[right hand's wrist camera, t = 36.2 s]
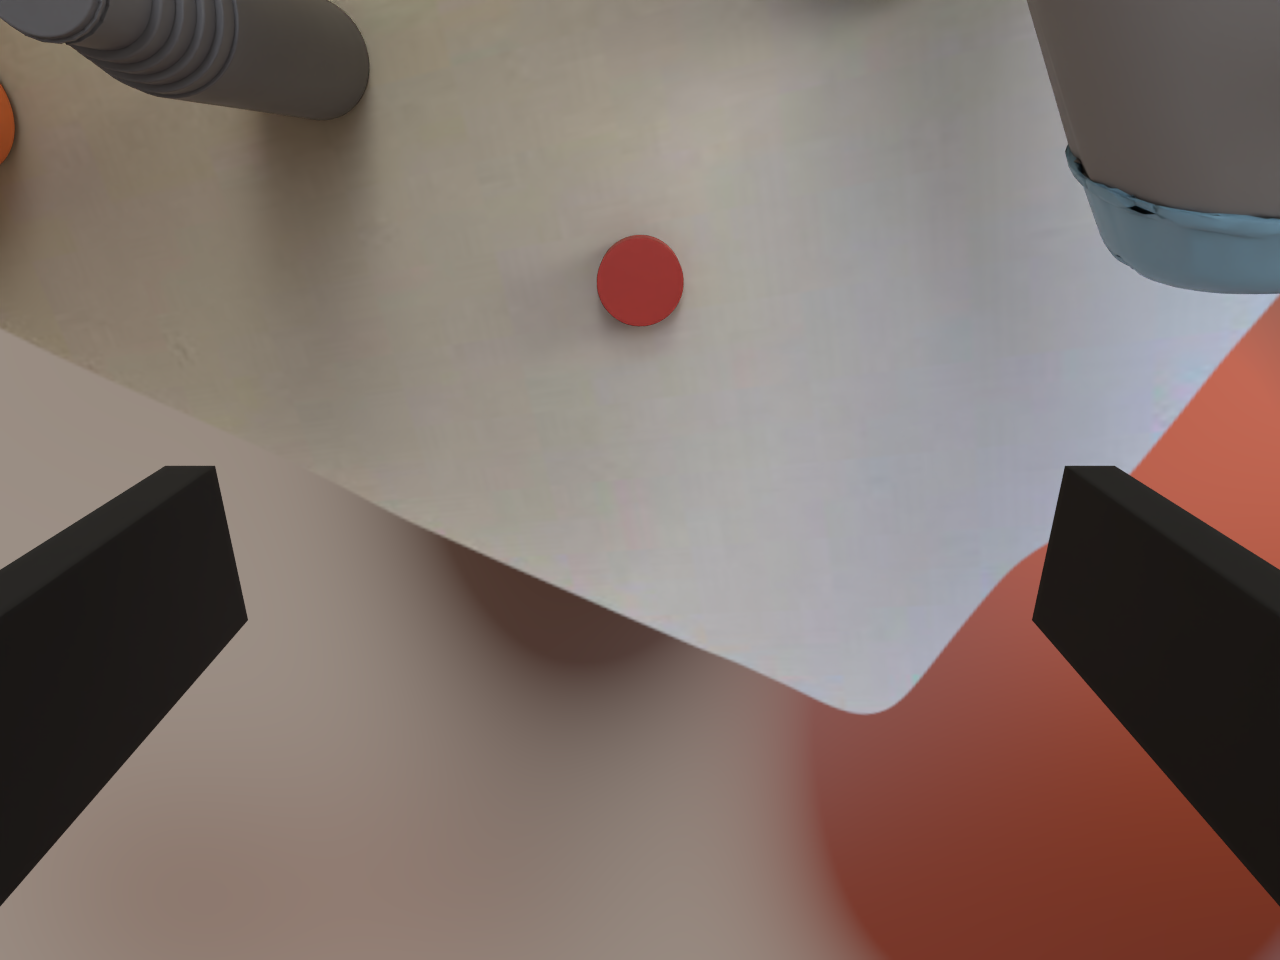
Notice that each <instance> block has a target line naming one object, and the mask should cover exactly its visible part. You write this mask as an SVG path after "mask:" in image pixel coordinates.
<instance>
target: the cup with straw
mask: <svg viewBox="0 0 1280 960" xmlns="http://www.w3.org/2000/svg"><path fill="white" fill-rule="evenodd" d="M14 132H15V125H14V117H13V112H12V108H11V105H10V102H9V99H8V97H7V95H6V93H5V91H4V89H3V87H2V86H1V84H0V164H1V163H2V162H3V161H4V160H5V159H6V157H7V156H8V154H9V152H10V150H11V147H12V144H13V140H14Z"/></svg>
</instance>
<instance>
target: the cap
mask: <svg viewBox="0 0 1280 960" xmlns="http://www.w3.org/2000/svg"><path fill="white" fill-rule="evenodd" d="M597 289H598V294H599V297H600V300H601V302H602V304H603V305H604V307H605V309H606V310H607V311H608V312H609V313H610V314H611V315H612V316H613V317H614V318H616V319H617V320H619V321H621V322H623V323H625V324H628V325H632V326H648V325H652V324H655V323H657V322H660V321H661V320H663V319H665V318H666V317H667V316H668V315H670V313H671V312H672V311H673V310H674V309H675V307H676V306H677V304H678V302H679V300H680V298H681V295H682V291H683V273H682V269H681V266H680V264H679V261H678V259H677V257H676V255H675V253H674V252H673V251H672V250H671V248H670V247H669V246H668V245H666V244H665V243H664V242H662V241H661V240H659V239H657V238H654V237H651V236H647V235H634V236H629V237H626V238H624V239H621V240H620V241H618V242H616V243H615V244H614V245H613V246H612V247H611V248H610V249H609V250H608V251H607V253H606V254H605V256H604V257H603V259H602V262H601V264H600V267H599V270H598V274H597Z"/></svg>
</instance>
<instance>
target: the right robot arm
mask: <svg viewBox="0 0 1280 960" xmlns="http://www.w3.org/2000/svg"><path fill="white" fill-rule="evenodd" d="M1027 2H1028V6H1029V9H1030V13H1031V16H1032V20H1033V23H1034V27H1035V30H1036V33H1037V37H1038V40H1039V44H1040V47H1041V51H1042V54H1043V58H1044V61H1045V65H1046V68H1047V71H1048V75H1049V78H1050V82H1051V85H1052V89H1053V92H1054V96H1055V99H1056V103H1057V106H1058V109H1059V113H1060V116H1061V120H1062V123H1063V127H1064V130H1065V134H1066V137H1067V141H1068V146H1067V148H1066V151H1065V152H1066V157H1067V161H1068V165H1069V168H1070V170H1071V172H1072V174H1073V175H1074V177H1075V178H1076V179H1077V180H1078V181H1079V182H1080V183H1081V184H1082V185H1083V187H1084V189H1085V192H1086V195H1087V198H1088V201H1089V204H1090V206H1091V209H1092V212H1093V215H1094V218H1095V221H1096V224H1097V226H1098V229H1099V232H1100V235H1101V237H1102V240H1103V242H1104V244H1105V245H1106V247H1107V248H1108V249H1109V251H1110V252H1111V253H1112V255H1113V256H1114V257H1115V258H1116V259H1117V260H1119V261H1121V262H1122V263H1124V264H1126V265H1128V266H1130V267H1131V268H1132V269H1134V270H1136V271H1137V272H1138V273H1139V274H1140V275H1142V276H1144V277H1146V278H1148V279H1150V280H1153V281H1156V282H1159V283H1163V284H1166V285H1170V286H1173V287H1178V288H1183V289H1188V290H1195V291H1203V292H1211V293H1225V294H1277V293H1280V0H1027ZM247 620H248V618H247V614H246V609H245V604H244V599H243V595H242V590H241V585H240V581H239V576H238V572H237V567H236V562H235V557H234V553H233V548H232V544H231V539H230V534H229V529H228V525H227V520H226V515H225V511H224V506H223V501H222V497H221V492H220V488H219V483H218V478H217V473H216V469H215V466H164V467H163V468H161V469H160V470H158V471H156V472H155V473H153V474H152V475H150V476H149V477H147V478H145V479H144V480H142V481H141V482H139V483H137V484H136V485H134V486H133V487H131V488H130V489H128V490H126V491H125V492H123V493H122V494H120V495H118V496H117V497H115V498H114V499H112V500H110V501H109V502H107V503H106V504H104V505H103V506H101V507H99V508H98V509H96V510H95V511H93V512H91V513H90V514H88V515H87V516H85V517H83V518H82V519H80V520H79V521H77V522H76V523H74V524H72V525H71V526H69V527H68V528H66V529H64V530H63V531H61V532H60V533H58V534H56V535H55V536H53V537H52V538H50V539H49V540H47V541H45V542H44V543H42V544H41V545H39V546H37V547H36V548H34V549H33V550H31V551H29V552H28V553H26V554H25V555H23V556H22V557H20V558H18V559H17V560H15V561H14V562H12V563H11V564H9V565H7V566H6V567H4V568H3V569H1V570H0V906H1V905H2V904H3V903H4V901H5V900H6V899H7V898H8V897H9V896H10V894H11V893H12V892H13V891H14V890H15V889H16V887H17V886H18V885H19V884H20V883H21V882H22V881H23V879H24V878H25V877H26V876H27V875H28V874H29V872H30V871H31V870H32V869H33V868H34V867H35V866H36V864H37V863H38V862H39V861H40V860H41V859H42V857H43V856H44V855H45V854H46V853H47V852H48V850H49V849H50V848H51V847H52V846H53V845H54V844H55V842H56V841H57V840H58V839H59V838H60V837H61V835H62V834H63V833H64V832H65V831H66V830H67V829H68V827H69V826H70V825H71V824H72V823H73V822H74V820H75V819H76V818H77V817H78V816H79V815H80V813H81V812H82V811H83V810H84V809H85V808H86V807H87V805H88V804H89V803H90V802H91V801H92V800H93V798H94V797H95V796H96V795H97V794H98V793H99V791H100V790H101V789H102V788H103V787H104V786H105V785H106V783H107V782H108V781H109V780H110V779H111V778H112V776H113V775H114V774H115V773H116V772H117V771H118V770H119V768H120V767H121V766H122V765H123V764H124V763H125V762H126V760H127V759H128V758H129V757H130V756H131V755H132V753H133V752H134V751H135V750H136V749H137V748H138V746H139V745H140V744H141V743H142V742H143V741H144V740H145V738H146V737H147V736H148V735H149V734H150V733H151V731H152V730H153V729H154V728H155V727H156V726H157V724H158V723H159V722H160V721H161V720H162V719H163V718H164V716H165V715H166V714H167V713H168V712H169V711H170V710H171V708H172V707H173V706H174V705H175V704H176V703H177V701H178V700H179V699H180V698H181V697H182V696H183V694H184V693H185V692H186V691H187V690H188V689H189V688H190V686H191V685H192V684H193V683H194V682H195V681H196V679H197V678H198V677H199V676H200V675H201V674H202V672H203V671H204V670H205V669H206V668H207V667H208V666H209V664H210V663H211V662H212V661H213V660H214V659H215V657H216V656H217V655H218V654H219V653H220V652H221V651H222V649H223V648H224V647H225V646H226V645H227V644H228V642H229V641H230V640H231V639H232V638H233V637H234V635H235V634H236V633H237V632H238V631H239V630H240V629H241V627H242V626H243V625H244V624H245V623H246V622H247ZM1032 621H1033V622H1034V623H1035V624H1036V625H1037V626H1038V627H1039V629H1040V630H1041V631H1042V632H1043V633H1044V634H1045V636H1046V637H1047V638H1048V639H1049V640H1050V641H1051V642H1052V644H1053V645H1054V646H1055V647H1056V648H1057V649H1058V651H1059V652H1060V653H1061V654H1062V655H1063V656H1064V658H1065V659H1066V660H1067V661H1068V662H1069V663H1070V664H1071V666H1072V667H1073V668H1074V669H1075V670H1076V671H1077V673H1078V674H1079V675H1080V676H1081V677H1082V678H1083V679H1084V681H1085V682H1086V683H1087V684H1088V685H1089V686H1090V688H1091V689H1092V690H1093V691H1094V692H1095V693H1096V694H1097V696H1098V697H1099V698H1100V699H1101V700H1102V701H1103V703H1104V704H1105V705H1106V706H1107V707H1108V708H1109V709H1110V711H1111V712H1112V713H1113V714H1114V715H1115V716H1116V718H1117V719H1118V720H1119V721H1120V722H1121V723H1122V725H1123V726H1124V727H1125V728H1126V729H1127V730H1128V731H1129V733H1130V734H1131V735H1132V736H1133V737H1134V738H1135V740H1136V741H1137V742H1138V743H1139V744H1140V745H1141V746H1142V748H1143V749H1144V750H1145V751H1146V752H1147V753H1148V755H1149V756H1150V757H1151V758H1152V759H1153V760H1154V761H1155V763H1156V764H1157V765H1158V766H1159V767H1160V768H1161V770H1162V771H1163V772H1164V773H1165V774H1166V775H1167V777H1168V778H1169V779H1170V780H1171V781H1172V782H1173V783H1174V785H1175V786H1176V787H1177V788H1178V789H1179V790H1180V791H1181V793H1182V794H1183V795H1184V796H1185V797H1186V798H1187V800H1188V801H1189V802H1190V803H1191V804H1192V805H1193V807H1194V808H1195V809H1196V810H1197V811H1198V812H1199V814H1200V815H1201V816H1202V817H1203V818H1204V819H1205V820H1206V822H1207V823H1208V824H1209V825H1210V826H1211V827H1212V829H1213V830H1214V831H1215V832H1216V833H1217V834H1218V835H1219V837H1220V838H1221V839H1222V840H1223V841H1224V842H1225V844H1226V845H1227V846H1228V847H1229V848H1230V849H1231V851H1232V852H1233V853H1234V854H1235V855H1236V856H1237V857H1238V859H1239V860H1240V861H1241V862H1242V863H1243V864H1244V866H1245V867H1246V868H1247V869H1248V870H1249V871H1250V872H1251V874H1252V875H1253V876H1254V877H1255V878H1256V879H1257V881H1258V882H1259V883H1260V884H1261V885H1262V886H1263V887H1264V889H1265V890H1266V891H1267V892H1268V893H1269V894H1270V896H1271V897H1272V898H1273V899H1274V900H1275V901H1276V903H1277V904H1278V905H1279V906H1280V570H1279V569H1277V568H1276V567H1274V566H1273V565H1271V564H1269V563H1268V562H1266V561H1265V560H1263V559H1262V558H1260V557H1258V556H1257V555H1255V554H1254V553H1252V552H1250V551H1249V550H1247V549H1246V548H1244V547H1243V546H1241V545H1239V544H1238V543H1236V542H1235V541H1233V540H1231V539H1230V538H1228V537H1227V536H1225V535H1223V534H1222V533H1220V532H1219V531H1217V530H1216V529H1214V528H1212V527H1211V526H1209V525H1208V524H1206V523H1204V522H1203V521H1201V520H1200V519H1198V518H1197V517H1195V516H1193V515H1192V514H1190V513H1189V512H1187V511H1185V510H1184V509H1182V508H1181V507H1179V506H1177V505H1176V504H1174V503H1173V502H1171V501H1170V500H1168V499H1166V498H1165V497H1163V496H1162V495H1160V494H1158V493H1157V492H1155V491H1154V490H1152V489H1150V488H1149V487H1147V486H1146V485H1144V484H1143V483H1141V482H1139V481H1138V480H1136V479H1135V478H1133V477H1131V476H1130V475H1128V474H1127V473H1125V472H1124V471H1122V470H1120V469H1119V468H1117V467H1116V466H1065V469H1064V473H1063V478H1062V483H1061V487H1060V492H1059V497H1058V501H1057V506H1056V511H1055V515H1054V520H1053V525H1052V529H1051V534H1050V539H1049V543H1048V548H1047V553H1046V558H1045V562H1044V567H1043V571H1042V576H1041V581H1040V585H1039V590H1038V595H1037V599H1036V604H1035V609H1034V613H1033V618H1032Z"/></svg>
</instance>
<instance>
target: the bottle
mask: <svg viewBox="0 0 1280 960" xmlns="http://www.w3.org/2000/svg"><path fill="white" fill-rule="evenodd" d="M0 18H1V19H2V20H4V21H5V22H6V23H8V24H9V25H10V26H12V27H13V28H15V29H16V30H18V31H20V32H21V33H23V34H24V35H25V36H28V37H31V38H33V39H36V40H39V41H42V42H48V43H59V44H62V43H66V45H70V46H71V47H72V48H74V49H75V50H77V51H78V52H79V53H80V54H82V55H83V56H84V57H86V58H87V59H89V60H90V61H92V62H93V63H94V64H96V65H97V66H98V67H100V68H101V69H103V70H104V71H105V72H106V73H108V74H109V75H110V76H112V77H113V78H115V79H117V80H118V81H120V82H122V83H124V84H126V85H128V86H130V87H133V88H136V89H138V90H140V91H142V92H145V93H147V94H150V95H154V96H157V97H163V98H170V99H177V100H184V101H190V102H197V103H204V104H211V105H218V106H225V107H232V108H239V109H245V110H252V111H259V112H266V113H273V114H280V115H287V116H294V117H300V118H307V119H314V120H328V119H333V118H337V117H339V116H342V115H344V114H345V113H347V112H348V111H350V110H351V109H352V108H353V107H354V106H355V105H356V104H357V103H358V101H359V100H360V98H361V97H362V95H363V93H364V90H365V88H366V85H367V81H368V75H369V60H368V53H367V49H366V45H365V42H364V40H363V37H362V35H361V33H360V31H359V30H358V28H357V26H356V25H355V23H354V22H353V21H352V20H351V18H350V17H349V16H348V15H347V14H346V13H345V12H344V11H343V10H341V9H340V8H339V7H338V6H336V5H335V4H333V3H331V2H330V1H328V0H0Z"/></svg>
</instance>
